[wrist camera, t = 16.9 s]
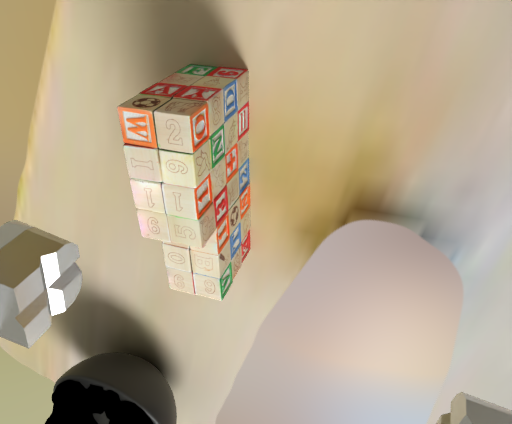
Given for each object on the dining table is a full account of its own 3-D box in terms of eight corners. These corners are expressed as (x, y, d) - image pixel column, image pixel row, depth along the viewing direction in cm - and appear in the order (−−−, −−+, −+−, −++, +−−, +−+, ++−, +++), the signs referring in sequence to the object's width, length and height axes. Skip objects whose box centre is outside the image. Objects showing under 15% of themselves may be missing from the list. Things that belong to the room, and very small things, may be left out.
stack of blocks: (252, 249, 54) (209, 324, 44) (204, 238, 56) (153, 308, 46) (249, 67, 42) (189, 116, 32) (188, 61, 44) (114, 106, 34)
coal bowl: (105, 305, 70) (14, 411, 56) (215, 373, 70) (153, 498, 56) (84, 364, 83) (5, 463, 68) (177, 422, 83) (118, 534, 68)
